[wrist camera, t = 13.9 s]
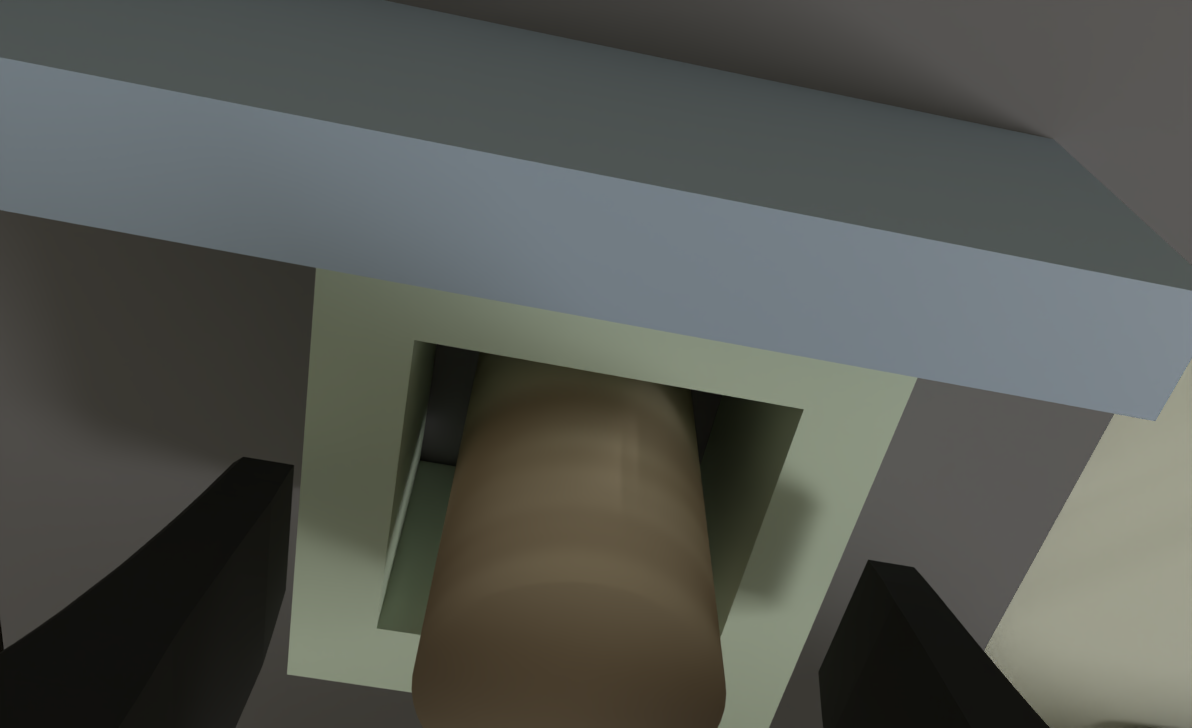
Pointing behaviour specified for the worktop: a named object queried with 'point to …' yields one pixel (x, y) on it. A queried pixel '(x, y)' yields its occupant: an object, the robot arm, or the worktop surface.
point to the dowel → (572, 560)
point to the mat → (283, 338)
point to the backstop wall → (593, 188)
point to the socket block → (739, 373)
